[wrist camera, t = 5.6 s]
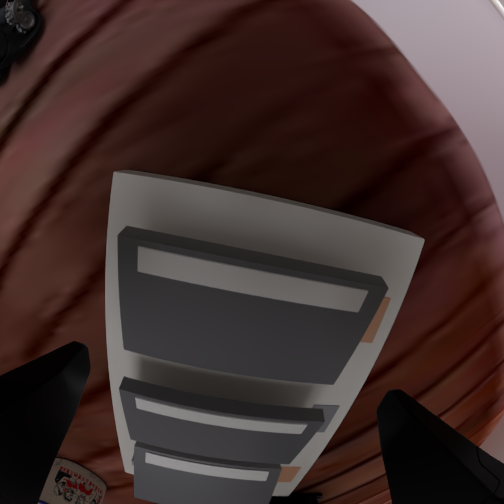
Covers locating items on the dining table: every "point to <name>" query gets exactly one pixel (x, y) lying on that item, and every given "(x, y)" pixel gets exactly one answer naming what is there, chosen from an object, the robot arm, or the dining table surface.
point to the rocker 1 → (240, 308)
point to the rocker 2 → (216, 424)
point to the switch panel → (266, 241)
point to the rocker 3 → (200, 478)
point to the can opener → (16, 30)
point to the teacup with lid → (72, 485)
